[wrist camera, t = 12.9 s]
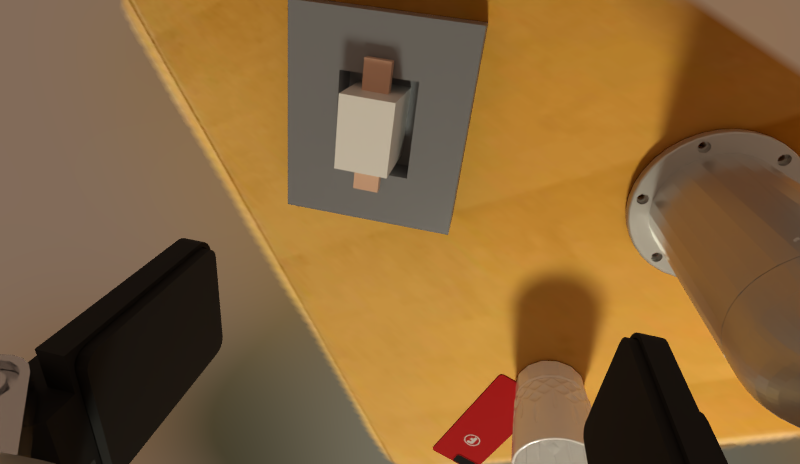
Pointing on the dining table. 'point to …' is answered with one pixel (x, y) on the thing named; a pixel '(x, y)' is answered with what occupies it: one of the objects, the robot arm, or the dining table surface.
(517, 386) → the white cup
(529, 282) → the dining table surface
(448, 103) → the block
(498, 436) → the electronic device
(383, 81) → the block
